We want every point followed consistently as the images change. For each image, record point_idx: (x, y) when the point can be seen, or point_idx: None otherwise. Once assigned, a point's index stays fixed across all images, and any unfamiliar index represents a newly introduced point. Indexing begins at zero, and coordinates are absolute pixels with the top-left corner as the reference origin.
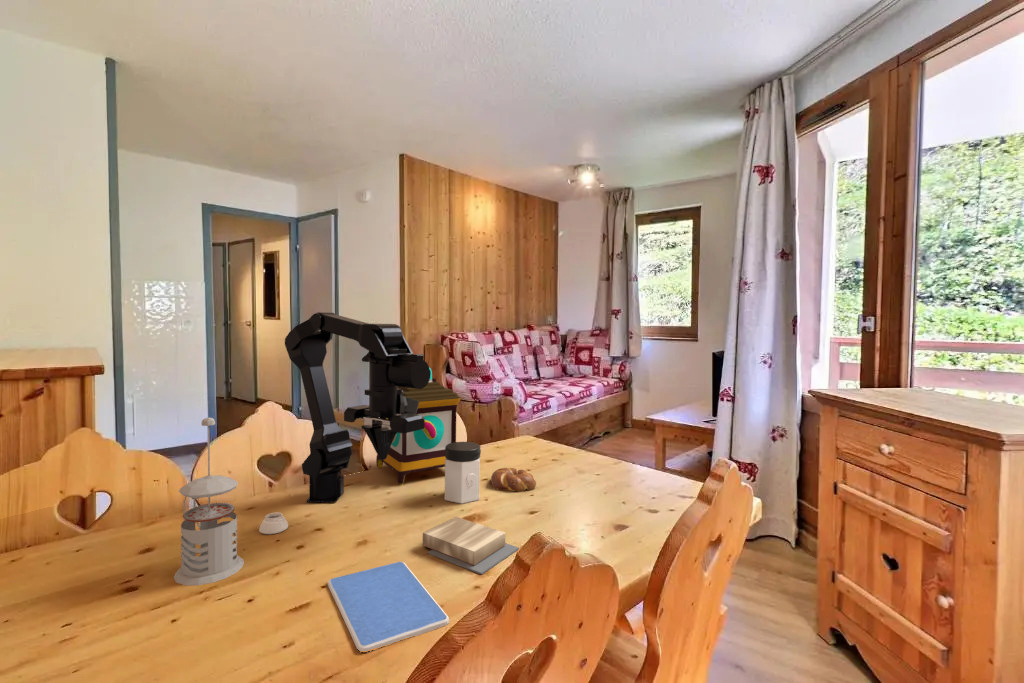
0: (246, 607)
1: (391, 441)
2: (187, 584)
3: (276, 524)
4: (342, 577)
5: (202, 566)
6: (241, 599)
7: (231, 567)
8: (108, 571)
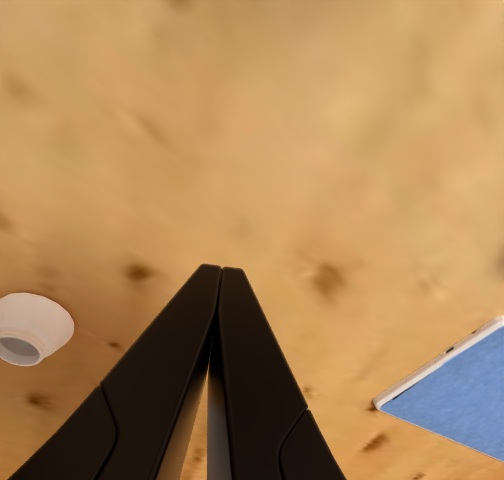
0: None
1: (322, 457)
2: None
3: (57, 346)
4: (398, 398)
5: None
6: None
7: None
8: (15, 468)
